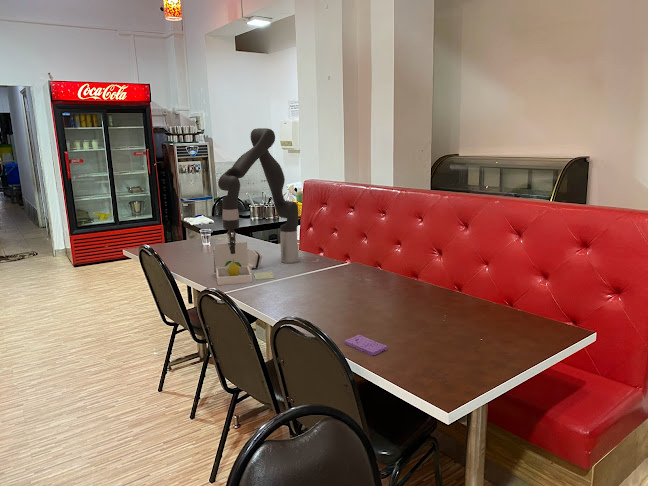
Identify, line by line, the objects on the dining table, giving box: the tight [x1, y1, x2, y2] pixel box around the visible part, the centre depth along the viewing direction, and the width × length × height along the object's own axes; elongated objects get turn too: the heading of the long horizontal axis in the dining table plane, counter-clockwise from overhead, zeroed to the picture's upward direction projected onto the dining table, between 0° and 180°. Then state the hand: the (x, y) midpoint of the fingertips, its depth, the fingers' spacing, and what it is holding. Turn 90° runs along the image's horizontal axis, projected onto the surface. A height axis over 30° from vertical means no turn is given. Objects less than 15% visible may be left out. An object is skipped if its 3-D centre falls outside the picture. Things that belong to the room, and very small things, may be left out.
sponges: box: [344, 334, 388, 356], centre depth 157 cm, size 7×13×2 cm, turn 42°
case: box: [212, 241, 253, 286], centre depth 236 cm, size 17×20×16 cm
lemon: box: [224, 261, 241, 277], centre depth 236 cm, size 7×6×10 cm
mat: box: [252, 271, 275, 281], centre depth 240 cm, size 9×11×1 cm
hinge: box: [247, 248, 263, 271], centre depth 260 cm, size 17×5×10 cm, turn 35°
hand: (232, 251), depth 234 cm, fingers open, 8 cm apart
